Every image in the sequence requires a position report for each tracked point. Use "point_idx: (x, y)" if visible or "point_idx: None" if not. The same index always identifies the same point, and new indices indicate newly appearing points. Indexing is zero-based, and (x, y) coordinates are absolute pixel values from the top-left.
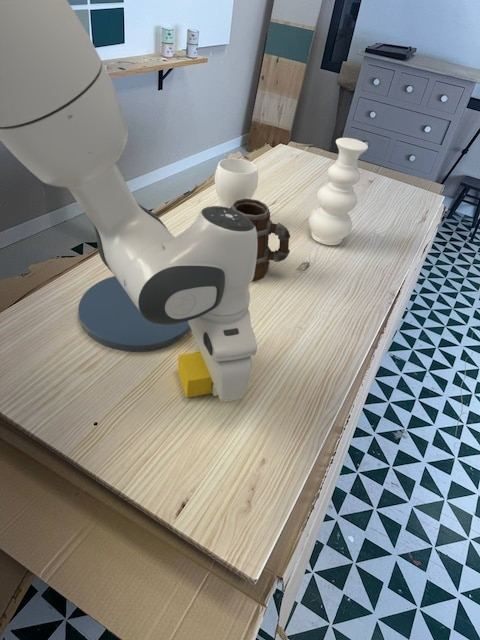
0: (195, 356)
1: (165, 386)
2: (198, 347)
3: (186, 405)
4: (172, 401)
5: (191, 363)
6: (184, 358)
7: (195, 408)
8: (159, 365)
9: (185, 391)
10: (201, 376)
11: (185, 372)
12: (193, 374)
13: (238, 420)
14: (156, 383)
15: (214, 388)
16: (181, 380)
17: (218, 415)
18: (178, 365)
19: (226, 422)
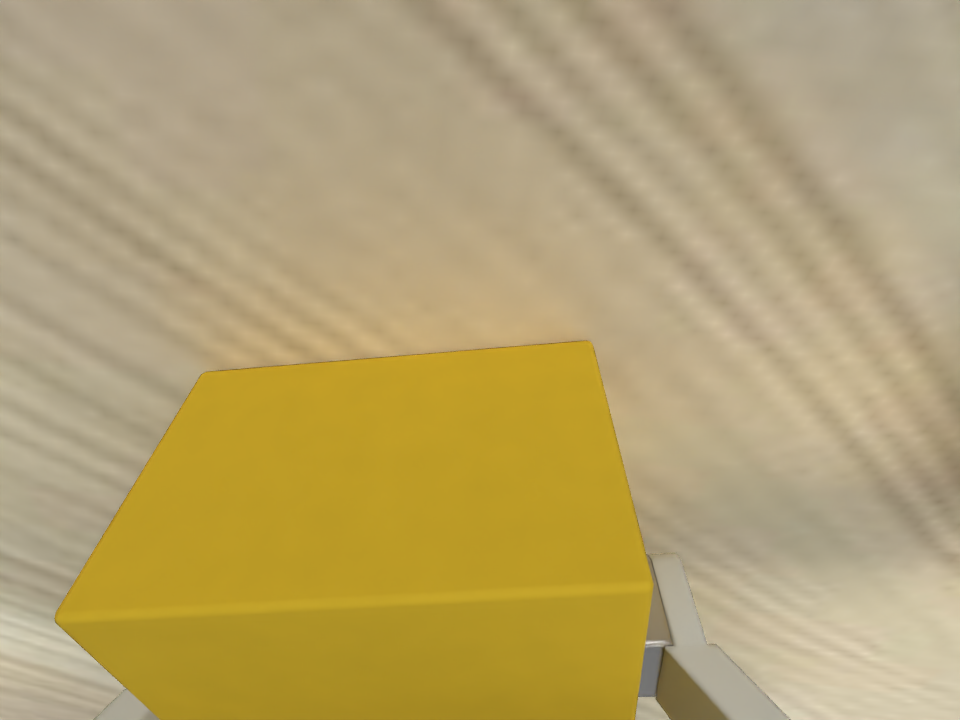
0: (556, 708)
1: (364, 175)
2: (724, 712)
3: (96, 355)
4: (117, 229)
5: (423, 676)
6: (544, 633)
7: (80, 418)
8: (774, 140)
9: (244, 390)
10: (184, 715)
11: (234, 612)
12: (202, 673)
13: (51, 614)
14: (426, 50)
15: (117, 699)
16: (416, 373)
17: (56, 539)
18: (589, 423)
19: (5, 566)
